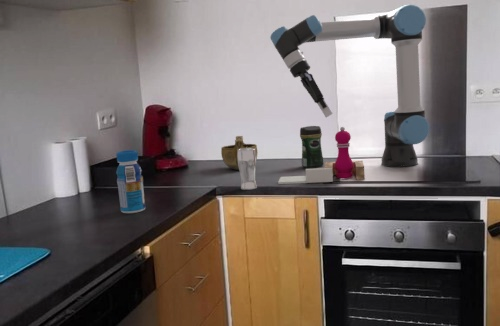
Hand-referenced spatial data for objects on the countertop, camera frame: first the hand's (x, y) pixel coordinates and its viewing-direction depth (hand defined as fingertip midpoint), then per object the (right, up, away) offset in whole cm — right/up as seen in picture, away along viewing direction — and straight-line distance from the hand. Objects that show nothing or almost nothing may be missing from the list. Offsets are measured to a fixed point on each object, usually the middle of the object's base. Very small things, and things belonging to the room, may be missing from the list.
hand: (329, 115), depth 190 cm
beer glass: (-31, -28, -3) cm, 42 cm away
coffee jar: (-2, -20, +35) cm, 41 cm away
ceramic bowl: (-35, -21, +43) cm, 60 cm away
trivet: (-13, -25, +5) cm, 29 cm away
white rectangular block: (-4, -25, -2) cm, 26 cm away
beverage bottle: (-70, -35, -26) cm, 82 cm away
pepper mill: (+7, -24, +5) cm, 26 cm away
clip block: (+7, -24, +5) cm, 25 cm away
